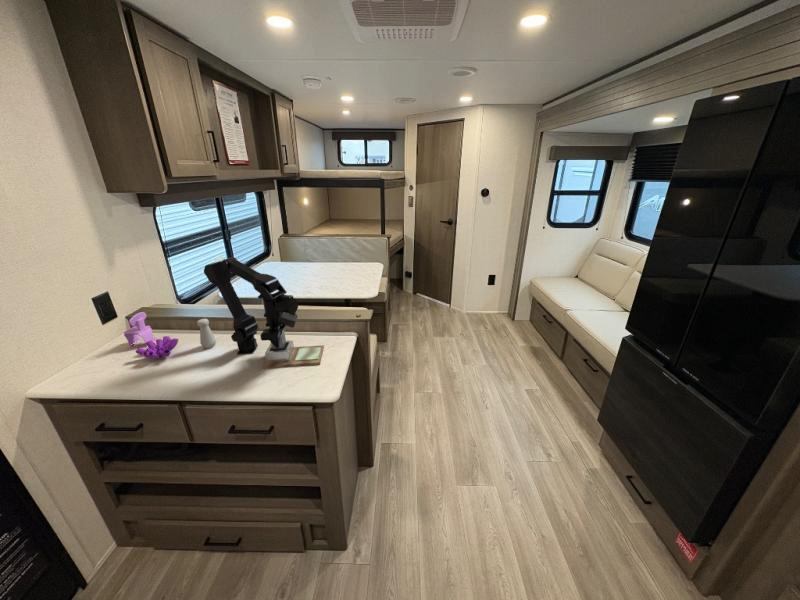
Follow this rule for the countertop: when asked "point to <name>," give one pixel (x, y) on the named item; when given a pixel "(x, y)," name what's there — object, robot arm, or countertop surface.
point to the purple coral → (158, 348)
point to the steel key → (280, 342)
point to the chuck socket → (280, 353)
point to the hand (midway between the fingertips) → (278, 344)
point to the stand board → (300, 357)
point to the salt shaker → (206, 334)
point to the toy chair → (139, 329)
